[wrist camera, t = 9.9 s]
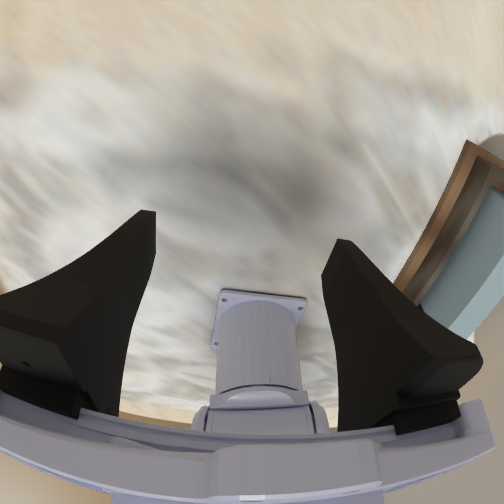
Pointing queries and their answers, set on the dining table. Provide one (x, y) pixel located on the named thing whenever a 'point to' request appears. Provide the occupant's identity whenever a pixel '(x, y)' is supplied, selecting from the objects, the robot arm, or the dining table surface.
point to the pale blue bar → (472, 272)
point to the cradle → (450, 220)
